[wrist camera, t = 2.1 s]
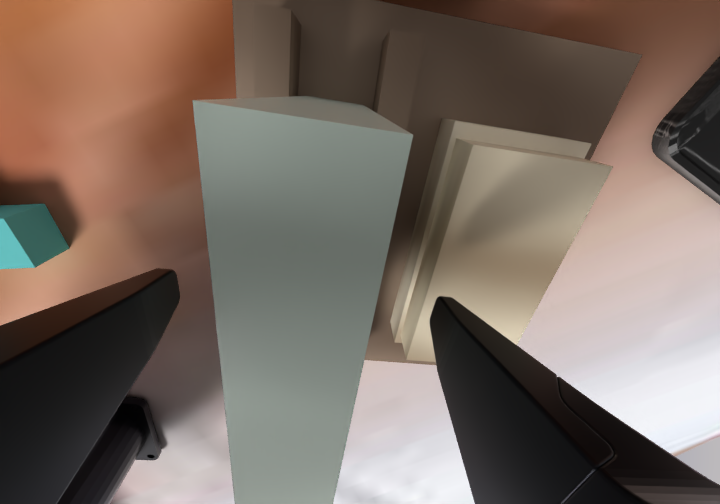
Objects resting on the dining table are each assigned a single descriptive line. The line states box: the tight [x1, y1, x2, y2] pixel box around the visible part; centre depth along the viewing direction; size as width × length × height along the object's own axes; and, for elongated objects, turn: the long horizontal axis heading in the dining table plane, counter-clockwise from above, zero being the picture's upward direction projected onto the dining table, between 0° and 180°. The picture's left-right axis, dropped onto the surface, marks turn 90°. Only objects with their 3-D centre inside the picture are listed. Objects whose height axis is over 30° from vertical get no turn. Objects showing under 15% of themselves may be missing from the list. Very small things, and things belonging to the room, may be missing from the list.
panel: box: [193, 96, 413, 504], centre depth 9 cm, size 10×2×9 cm, turn 172°
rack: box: [232, 0, 642, 365], centre depth 13 cm, size 16×14×3 cm
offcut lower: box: [390, 118, 591, 343], centre depth 13 cm, size 10×5×2 cm, turn 172°
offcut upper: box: [401, 138, 613, 362], centre depth 12 cm, size 9×5×2 cm, turn 171°
